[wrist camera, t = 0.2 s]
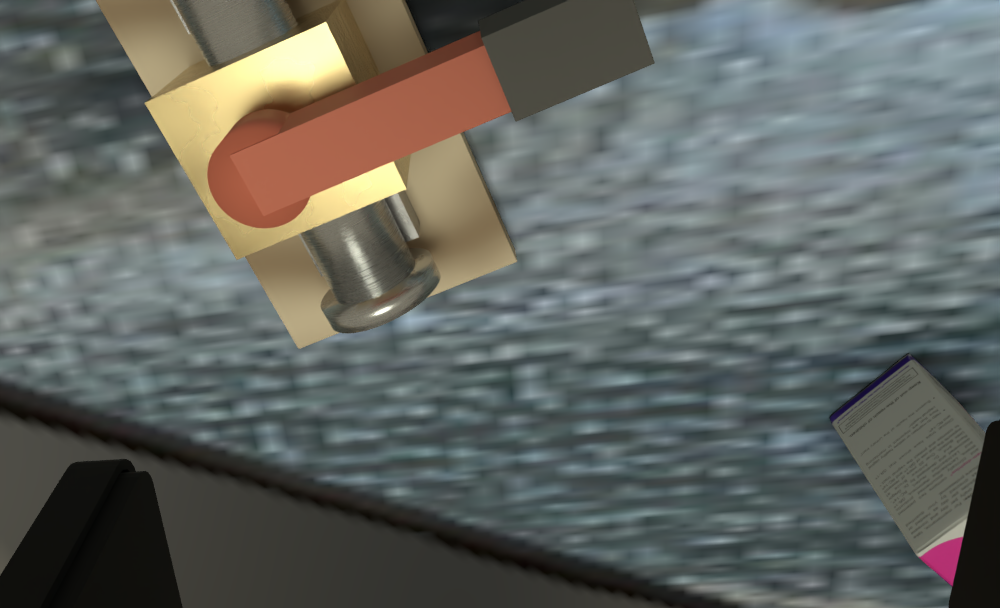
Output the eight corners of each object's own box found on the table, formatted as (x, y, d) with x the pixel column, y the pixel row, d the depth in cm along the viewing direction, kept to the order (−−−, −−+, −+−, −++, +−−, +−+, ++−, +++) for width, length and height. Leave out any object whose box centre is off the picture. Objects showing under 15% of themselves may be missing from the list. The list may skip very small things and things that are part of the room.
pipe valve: (127, -58, 40) (60, -40, 33) (286, -133, 39) (252, -131, 32) (321, 293, 48) (300, 367, 41) (459, 237, 47) (461, 303, 40)
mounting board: (61, -84, 40) (48, -82, 39) (314, -206, 39) (309, -208, 37) (302, 335, 49) (298, 348, 48) (514, 250, 48) (517, 261, 47)
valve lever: (259, 207, 37) (237, 247, 34) (212, 125, 36) (184, 156, 32) (634, 48, 35) (657, 71, 32) (602, -46, 34) (622, -34, 30)
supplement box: (823, 419, 53) (913, 555, 43) (908, 350, 52) (1023, 474, 41) (884, 475, 55) (984, 618, 45) (968, 411, 54) (1092, 544, 43)
